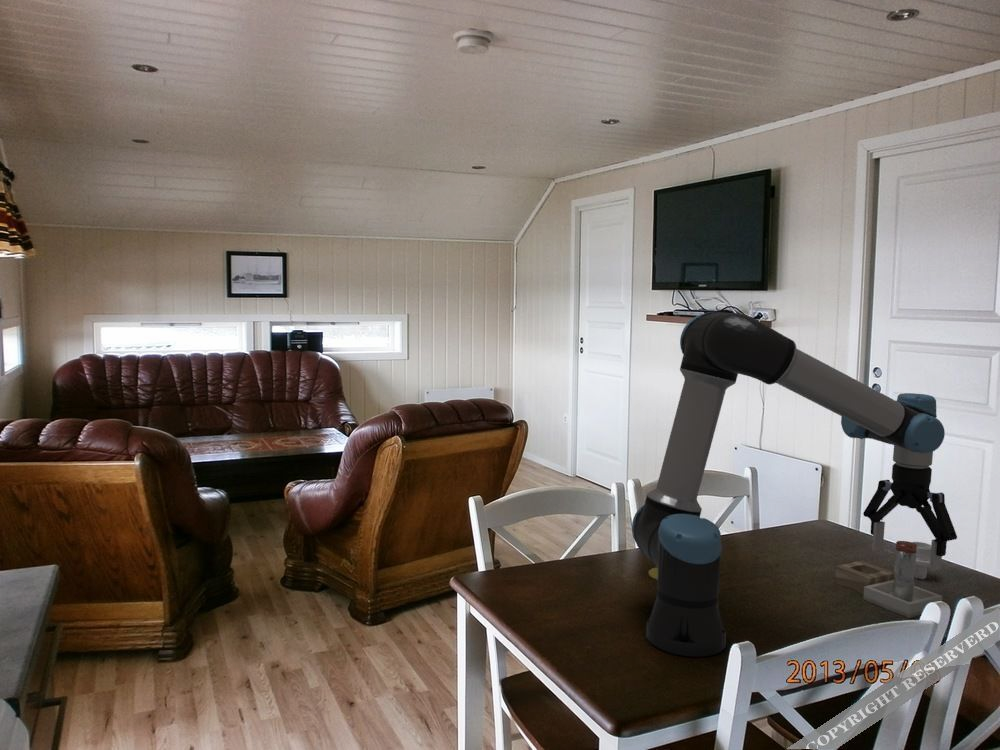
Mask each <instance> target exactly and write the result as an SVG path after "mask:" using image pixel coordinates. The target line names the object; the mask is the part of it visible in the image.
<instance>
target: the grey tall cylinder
mask: <svg viewBox="0 0 1000 750" xmlns="http://www.w3.org/2000/svg"><path fill="white" fill-rule="evenodd" d="M912 542H913V541H908V540H897V541H895V553H894V555H895V557H894V565H893V566H894V569H893V572H894V579H893V593H892V596H895V597H897V598H900V599H902V600H905V601H908V602H911V601H913V590H914V586H915V578H914V577H915V564H916V551H917V545H916V544H915V543H912Z"/></svg>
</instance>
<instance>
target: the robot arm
mask: <svg viewBox="0 0 1000 750" xmlns="http://www.w3.org/2000/svg"><path fill="white" fill-rule="evenodd" d="M679 343H680V344H679V346H680V350H681V352H682V355H683V356H682V359H681V363H680V367H679V371H680V373H681V374H682V376H683V378H684V381H683V385H682V389H681V392H680V396H679V400H678V405H677V407H676V408H677V409H676V412H675V416H674V420H673V423H672V427H671V430H670V434H669V438H668V442H667V446H666V449H665V454H664V458H663V462H662V465H661V469H660V473H659V476H658V480H657V483H656V487H655V488H654V489H652V490H650V491H649V492H647V493H646V497H645V501H644V505H641V506H640V507H639V508H638V510H637V511H636V512H635V513H634V516H633V518H632V522H631V533H632V536H633V537H632V538H633V539H634V542H635V544H636V546H637V548H638V549H639V550H640V552H641V553H642V554H643V556H646V558H648V559H649V561H650V562H651V563H653V565H654V566H655V568H656V567H657V568H658V576H657V580H656V581H657V583H656V584H657V585H656V598H655V601H654V603H653V607H652V610H651V613H650V616H649V618H648V619H647V621H646V625H645V628H646V629H645V631H646V632H645V637H646V639H647V641H648V642H649V643H650V644H651V645H653V646H654V647H656V648H658V649H659V650H662V651H665V652H666V653H671V654H673V655H678V656H683V657H684V656H685V657H693V658H694V657H696V658H698V657H699V658H700V657H710V656H715V655H717V654H719V653H721V652H722V651H724V649H726V645H727V644H726V642H727V632H726V628H725V627H724V626H725V625H724V622H723V618H722V617H723V616H722V615H721V609H720V606H719V593H720V591H719V590H720V578H721V577H720V574H721V557H722V556H721V555H722V551H723V543H722V534H721V531H720V528H719V527H718V526H717V525H716V524H715V523H714V522H713V521H711V520H709V519H707V518H705V517H701V514H702V510H703V508H702V507H701V505H700V503H699V501H698V495H699V491H700V488H701V484H702V481H703V476H704V473H705V469H706V466H707V463H708V462H707V461H708V458H709V454H710V450H711V447H712V443H713V439H714V435H715V432H716V428H717V425H718V421H719V417H720V413H721V411H722V406H723V402H724V398H725V395H726V390H727V389H728V388H731V387H732V386H733V385H735V384H736V382H737V379H738V376H739V375H743V376H747V377H749V378H750V377H751V378H753V379H755V380H757V381H760V382H762V383H764V384H766V385H770V386H771V385H774V384H777V385H779V386H781V387H783V388H785V389H787V390H789V391H792V392H793V393H795V394H798V395H799V396H802V398H805V399H807V400H809V401H811V402H812V403H815V404H817V405H819V406H820V407H823V408H825V409H826V410H829V411H831V412H833V413H835V414H836V415H838V416H841V419H840V425H841V428H842V432H843V434H845V435H846V436H847V437H849V438H850V439H859V440H863V439H871V440H875V441H879V442H880V443H881V442H882V443H884V444H887V445H892V446H893V452H892V453H893V455H892V461H893V462H894V463H893V464H892V465H891V467H892V469H891V479H892V481H890V480H889V479H883V480H879V481H878V484H877V489H876V491H875V493H874V494H873V496H872V498H871V499H870V501H869V503H868V504H867V506H866V508H865V509H864V511H863V516H864V517H867V518H868V519H869V520H870V535H872V548H871V550H872V552H878V551H883V550H884V541H885V539H884V538H885V526H886V525H885V524H886V522H885V521H883V520H884V518H885V517H886V516H887V515H888V514H890V513H891V512H892V511H893V510H894V509H896V507H897V506H898V505H899V506H902V507H907V508H909V509H915V510H916V512H917V513H919V514H920V515H921V517H922V518H923V521H924V522H925V524H926V526H927V527H928V529H929V530H930V532H931V534H932V536H934V539H931V544H930V545H931V556H930V567H929V571H932V572H935V571H938V570H942V558H943V557H944V556H946V554H947V543H948V542H950V541H954V540H957V539H958V535H957V532H956V529H955V527H954V525H953V522H952V520H951V517H950V514H949V511H948V509H947V506H946V503H945V502H946V501H945V500H946V499H945V498H946V497H945V494H944V492H932V491H931V490H930V486H931V483H932V474H933V473H932V472H933V471H932V470H933V469H932V468H931V466H932V465H933V457H934V452H935V451H936V450H938V449H939V448H940V447H941V445H942V444H943V442H944V439H945V432H946V430H945V427H944V425H943V423H942V422H941V421H940V420H939V419H938V418H937V399H936V398H935V397H934V396H933V395H930V394H923V393H914V392H913V393H911V392H908V393H907V392H906V393H905V392H904V393H899V395H897V398H896V400H895V399H893V398H891V397H890V396H887V395H886V394H884V393H882V392H879V391H878V390H876V389H874V388H872V387H870V386H869V385H866V383H865V384H864V383H863V382H860V381H859V380H857V379H855V378H853V377H852V376H850V375H847V374H846V373H844V372H842V371H840V370H838V369H836V368H835V367H833V366H831V365H829V364H826V363H825V362H823V361H821V360H819V359H817V358H815V357H813V356H812V355H809V354H808V353H806V352H804V351H802V350H800V349H798V348H797V344H796V342H795V341H794V339H793V340H792V338H789V337H788V336H785V335H783V334H782V333H780V332H778V331H777V330H775V329H773V328H772V327H770V326H769V325H767V324H764V323H763V322H761V321H759V320H758V319H756V318H754V317H752V316H749V315H747V314H743V313H738V312H722V311H721V312H720V311H708V312H705V313H701V314H698V315H696V316H695V317H693V318H692V319H690V320H689V321H688V322H687V323H686V325H685V326H684V328H683V330H682V331H681V334H680V339H679ZM889 491H891V493H892V496H890V497H889V498H888V499H887V501H886V502H885V503H884V504H883V505H881V504H882V503H883V502H884V500H885V498H886V496H888V493H889ZM929 499H930V500H929ZM928 500H929V501H928ZM929 502H931V503H929ZM931 504H932V505H931ZM880 506H881V507H880ZM932 509H933V510H932Z"/></svg>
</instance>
